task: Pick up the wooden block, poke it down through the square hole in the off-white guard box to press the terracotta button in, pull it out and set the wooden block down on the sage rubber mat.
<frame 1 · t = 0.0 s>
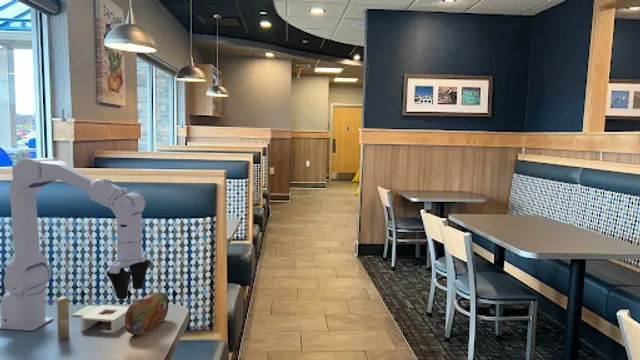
hand: (130, 293, 113), 10 cm above the table, fingers open, 7 cm apart
tin: (147, 328, 117), on the table
wooden block: (63, 338, 110), on the table
button: (107, 317, 118), point 2 cm above the table, slide at 0.0 cm
mat: (91, 312, 126), on the table
guard box: (107, 324, 118), on the table
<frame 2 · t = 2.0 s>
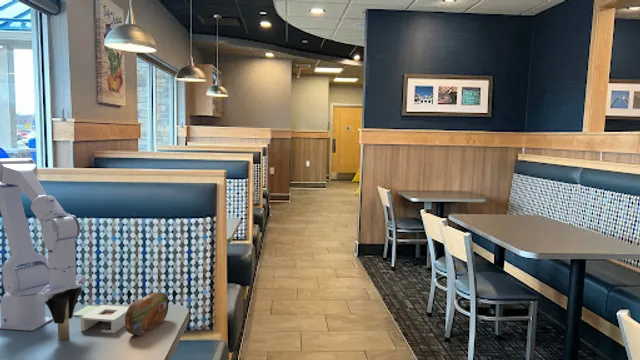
hand: (63, 320, 109), 4 cm above the table, fingers closed on wooden block, 2 cm apart
wooden block: (63, 338, 110), on the table, touching gripper
everything else where it was.
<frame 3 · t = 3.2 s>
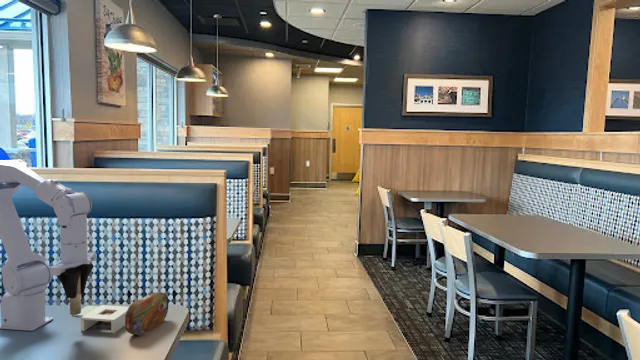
hand: (75, 295, 111), 10 cm above the table, fingers closed on wooden block, 2 cm apart
wooden block: (75, 313, 111), point 6 cm above the table, touching gripper
everything else where it was.
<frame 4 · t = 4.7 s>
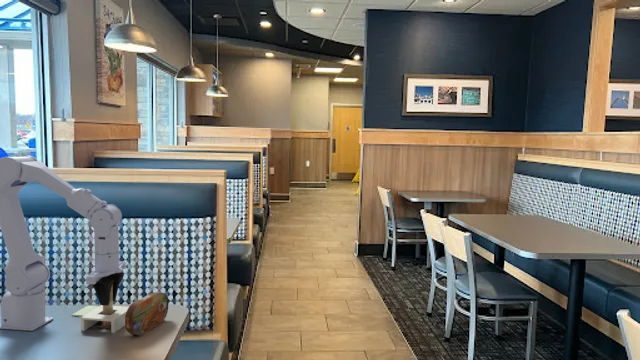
hand: (107, 302, 118), 6 cm above the table, fingers closed on wooden block, 2 cm apart
wooden block: (108, 318, 118), point 2 cm above the table, touching button, gripper
button: (107, 321, 118), point 1 cm above the table, slide at 1.0 cm, touching wooden block
everything else where it was.
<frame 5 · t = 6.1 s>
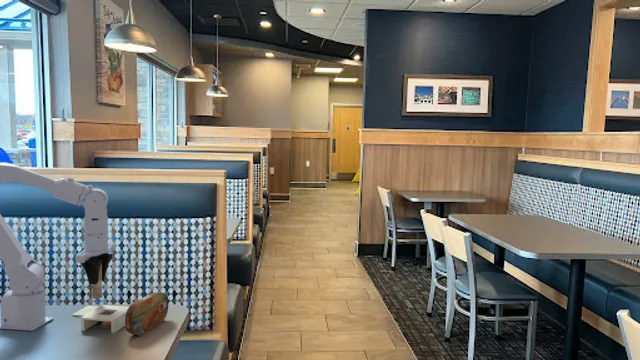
hand: (96, 282, 122), 10 cm above the table, fingers closed on wooden block, 2 cm apart
wooden block: (97, 297, 123), point 6 cm above the table, touching gripper
button: (107, 321, 118), point 1 cm above the table, slide at 1.0 cm
everything else where it was.
when the fingers open (6 cm above the table, at t = 7.5 s): wooden block stays where it is, resting on mat.
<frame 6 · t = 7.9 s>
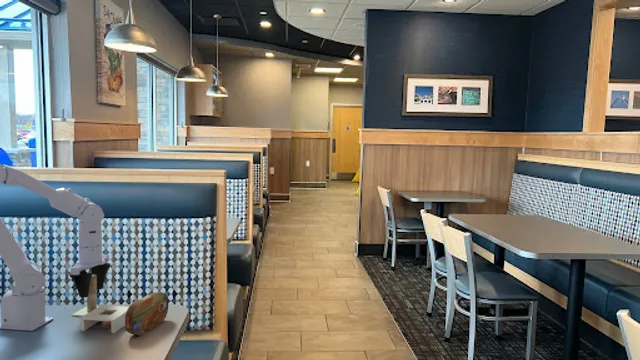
hand: (91, 292, 126), 6 cm above the table, fingers open, 6 cm apart
wooden block: (91, 310, 126), resting on mat
everything else where it was.
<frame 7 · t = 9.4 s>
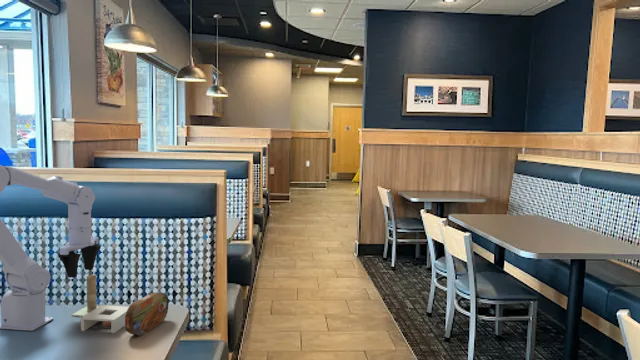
hand: (80, 273, 130), 10 cm above the table, fingers open, 7 cm apart
nothing on the table moved.
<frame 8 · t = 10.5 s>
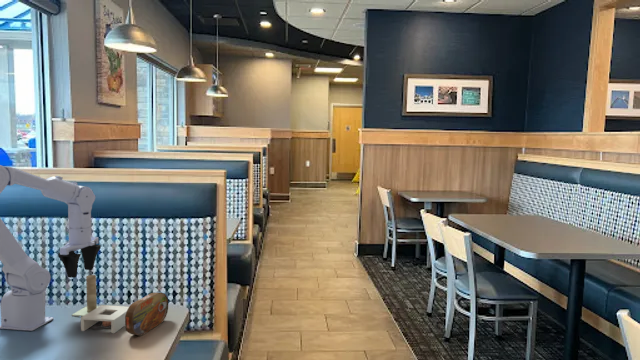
hand: (80, 273, 130), 10 cm above the table, fingers open, 7 cm apart
nothing on the table moved.
at the end: button slide at 1.0 cm; wooden block 0.1 cm from the mat (horizontally); the gripper is holding nothing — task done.
